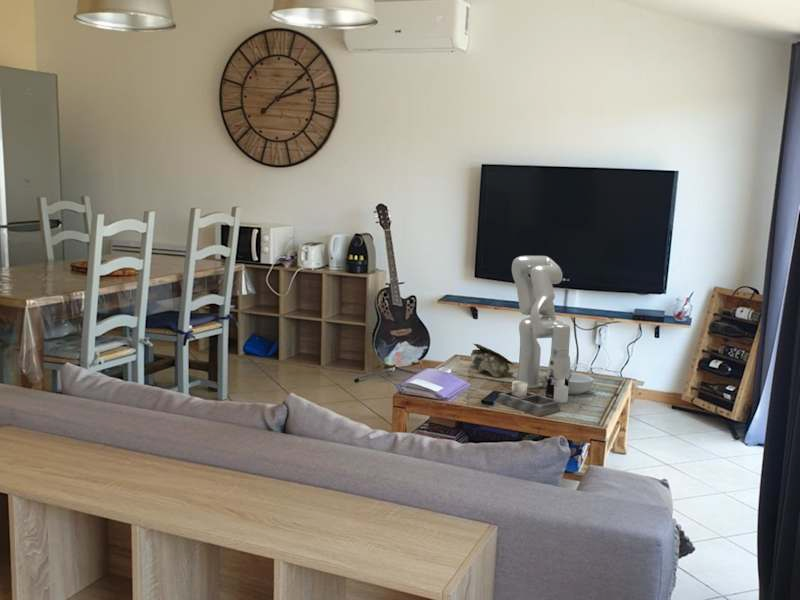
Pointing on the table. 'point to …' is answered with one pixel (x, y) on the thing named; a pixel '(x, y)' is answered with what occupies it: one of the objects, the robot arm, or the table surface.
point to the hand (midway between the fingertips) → (557, 391)
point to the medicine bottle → (559, 391)
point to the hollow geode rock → (490, 361)
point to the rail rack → (528, 400)
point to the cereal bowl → (579, 383)
